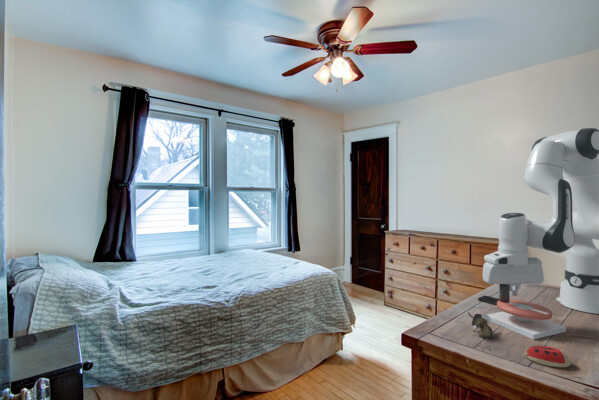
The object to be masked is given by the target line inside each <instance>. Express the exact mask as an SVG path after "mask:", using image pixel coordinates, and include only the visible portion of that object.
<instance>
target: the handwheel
mask: <svg viewBox="0 0 599 400" xmlns="http://www.w3.org/2000/svg"><path fill="white" fill-rule="evenodd" d="M498 285H499V286H498V287H499V288H498V290H499V298H498V299H499V301H498V302H497V306H496V307H497V308H498V309H499V310H500V311H501V312H506V313H509V314H511V315H515V316H519V317H523V318H528V319H537V320H547V321H548V320H551V319H552V318H553V311H552V310H551V309H549V308H548V307H545V306H544V305H543V306H542V305H540V304H538V303H534V302H529V301H523V300H520V299H510V296H511V295H510V286H509V285H507V284H498Z"/></svg>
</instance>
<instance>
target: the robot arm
mask: <svg viewBox="0 0 599 400" xmlns="http://www.w3.org/2000/svg"><path fill="white" fill-rule="evenodd" d="M598 155H599V129H597V128H596V127H595V128H594V127H585V128H580V129H576V130H575V129H574V130H569V131H563V132H560V133H557V134H553V135H549V136H544V137H541V138H539V139H537V140H536V141H535V142H534V143H533V145H532V146H531V151H530V154H529V157H528V158H527V161H526V166H525V169H524V174H523V180H524V182H525V183H526V186H527V187H529V188H530V189H531V190H534V191H536V192H539V193H541V194H545V195H548V196H550V198H551V199H552V217H551V219H550V221H549V222H541V221H532V220H529V219H527V216H526V214H524V213H522V212H507V213H504V214H502V215H500V217H499V220H498V225H497V239H498V246H497V251H494V252H491V253H488V254H486V255H484V257H483V259H484V261H485V262H484V264H483V266H482V280H483V281H484V282H485V283H487V284H489V285H499V284H507V285H509V286H510V296H511V297H514V296H515V297H517V296H518V291H519V290H520V289H521V287H522V285H525V284H527V285H528V284H542V283H544V281H545V278H544V269H543V266H542V265H543V263H542V260H541V259H540V258H539V257H536V256H533V257H529V248H532V249H533V248H534V249H540V250H545V251H548V252H553V253H556V254H557V253H558V254H561V253H564V252H565V269H564V274H563V275H564V280H563V281H561V283H560V290H559V296H557V297H556V298H555V299H556V301H557V302H559V303H560V304H561V305H562V306H564V307H566V308H569V309H573V310H575V311H578V312H579V311H580V312H584V313H588V314H596V315H599V248H598V247H597V246H596V245H595V243H594V241H593V240H597V241H599V156H598ZM573 205H574V207H575V209H576V210H575V209H574V210H573Z"/></svg>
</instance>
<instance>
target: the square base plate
mask: <svg viewBox="0 0 599 400" xmlns="http://www.w3.org/2000/svg"><path fill="white" fill-rule="evenodd" d="M486 315H488V316H489V317H490V319H491V323H493V324H495V325H498V326H500V327H503V328H505V329H508V330H510V331H512V332H514V333H517V334H519V335H522V336H524V337H527V338H529V339H531V340H536V339H541V338H546V337H550V336H554V335H558V334H563V333H566V332H567V327H566V326H564V325H560V324H557V323H555V322H552V321H550V320H548V319H547V320H537V319H528V318H523V317H519V316H515V315H511V314H509V313H506V312H504V311H499V312H492V313H488V314H486Z"/></svg>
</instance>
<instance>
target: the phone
mask: <svg viewBox="0 0 599 400" xmlns="http://www.w3.org/2000/svg"><path fill="white" fill-rule="evenodd" d="M477 301H478V302H482V303H485V304H489V305H493V306H496V307H497V302H498V301H499V298H497V297H493V296H489V295H482V296H480V297H478V298H477Z"/></svg>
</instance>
